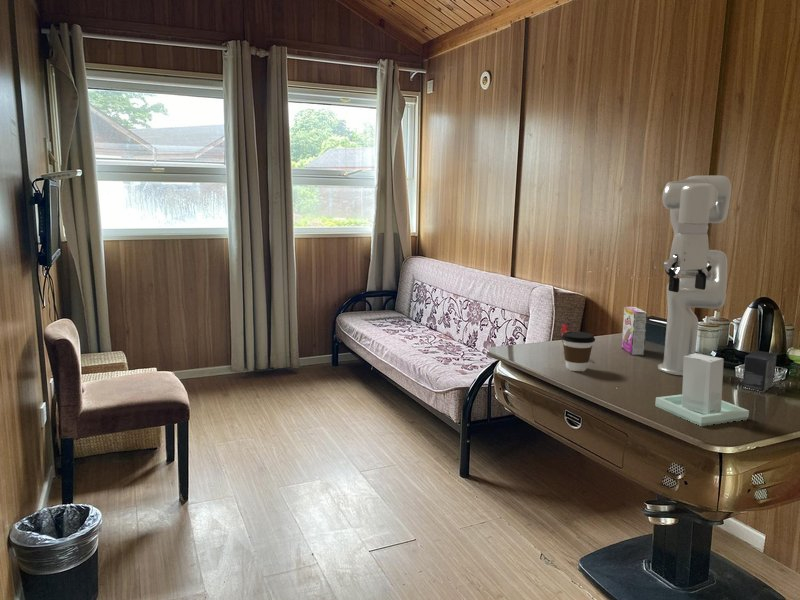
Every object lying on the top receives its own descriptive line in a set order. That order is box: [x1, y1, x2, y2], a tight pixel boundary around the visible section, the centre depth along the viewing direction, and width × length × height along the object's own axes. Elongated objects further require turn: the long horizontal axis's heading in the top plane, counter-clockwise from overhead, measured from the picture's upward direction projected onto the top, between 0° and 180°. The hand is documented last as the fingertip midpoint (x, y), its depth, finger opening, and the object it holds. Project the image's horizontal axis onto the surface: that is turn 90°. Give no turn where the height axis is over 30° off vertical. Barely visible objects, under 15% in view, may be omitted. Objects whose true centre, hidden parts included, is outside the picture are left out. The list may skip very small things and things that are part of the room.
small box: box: [741, 350, 778, 391], centre depth 185 cm, size 11×6×10 cm, turn 135°
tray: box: [654, 393, 750, 427], centre depth 163 cm, size 16×16×2 cm
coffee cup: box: [561, 331, 596, 372], centre depth 202 cm, size 11×11×12 cm
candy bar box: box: [621, 306, 648, 356], centre depth 226 cm, size 11×5×16 cm, turn 179°
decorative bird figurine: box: [560, 323, 571, 345], centre depth 223 cm, size 3×18×10 cm, turn 8°
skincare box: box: [681, 352, 725, 414], centre depth 162 cm, size 8×6×15 cm
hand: (686, 290), depth 170 cm, fingers open, 9 cm apart
